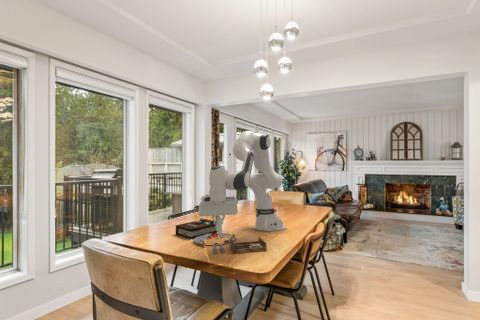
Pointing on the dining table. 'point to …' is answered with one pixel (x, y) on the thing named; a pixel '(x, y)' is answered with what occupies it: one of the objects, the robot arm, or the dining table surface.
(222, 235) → the food plate
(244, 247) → the rack
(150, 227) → the dining table surface
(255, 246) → the offcut upper
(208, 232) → the decorative book
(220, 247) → the stand
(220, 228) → the board
